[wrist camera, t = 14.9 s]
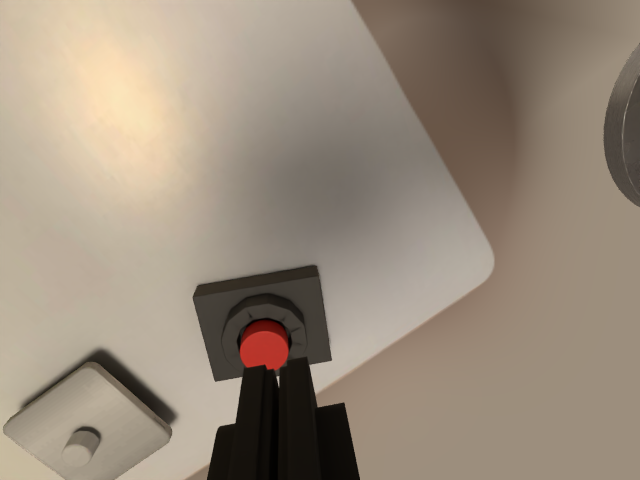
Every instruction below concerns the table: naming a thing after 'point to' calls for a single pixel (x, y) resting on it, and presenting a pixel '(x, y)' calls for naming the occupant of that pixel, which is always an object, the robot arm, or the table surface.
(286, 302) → the button base
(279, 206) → the table surface
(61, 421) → the light switch
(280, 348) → the button
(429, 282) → the table surface
